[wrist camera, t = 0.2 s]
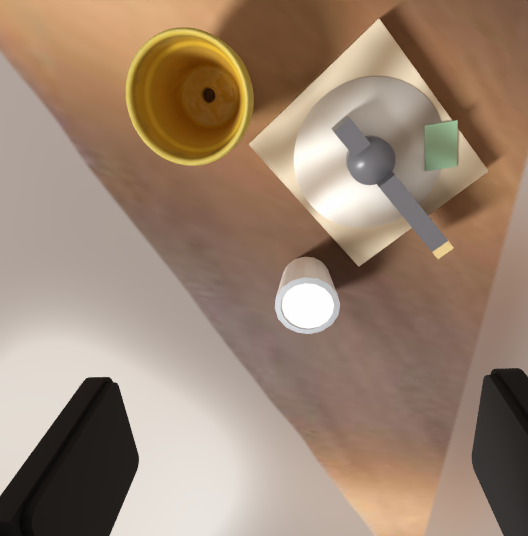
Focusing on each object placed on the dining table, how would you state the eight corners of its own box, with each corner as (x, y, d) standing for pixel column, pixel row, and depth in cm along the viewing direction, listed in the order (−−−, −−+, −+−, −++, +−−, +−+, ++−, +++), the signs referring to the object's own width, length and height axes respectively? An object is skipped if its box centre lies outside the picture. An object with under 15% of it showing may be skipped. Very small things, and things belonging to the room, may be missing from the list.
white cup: (343, 261, 49) (349, 288, 42) (323, 309, 51) (327, 341, 45) (287, 244, 48) (285, 269, 42) (270, 294, 51) (266, 324, 45)
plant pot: (140, 73, 42) (98, 72, 33) (228, 16, 39) (207, -3, 30) (194, 165, 45) (169, 187, 36) (278, 118, 42) (273, 129, 34)
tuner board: (250, 141, 44) (248, 144, 42) (378, 18, 38) (382, 15, 36) (356, 259, 48) (359, 267, 46) (483, 165, 43) (492, 169, 41)
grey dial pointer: (320, 137, 41) (322, 142, 37) (356, 104, 39) (361, 107, 36) (418, 253, 45) (426, 266, 42) (453, 228, 43) (465, 239, 40)
